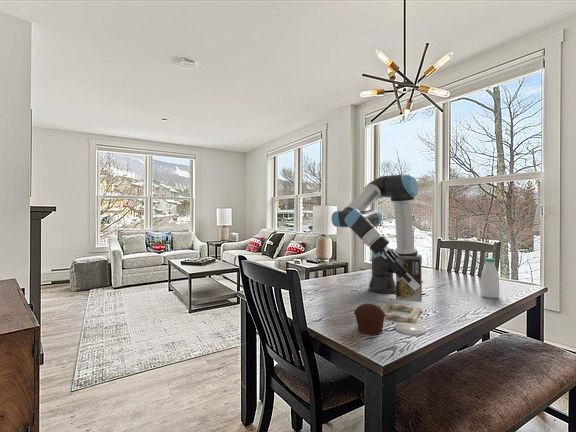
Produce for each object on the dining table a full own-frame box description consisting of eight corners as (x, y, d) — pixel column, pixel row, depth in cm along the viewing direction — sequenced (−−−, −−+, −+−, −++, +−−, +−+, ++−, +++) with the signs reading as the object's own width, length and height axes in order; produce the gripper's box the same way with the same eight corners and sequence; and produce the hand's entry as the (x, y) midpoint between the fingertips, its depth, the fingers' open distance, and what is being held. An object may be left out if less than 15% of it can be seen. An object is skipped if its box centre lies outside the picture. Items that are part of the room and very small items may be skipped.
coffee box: (422, 298, 121) (422, 256, 121) (421, 302, 115) (421, 259, 115) (397, 295, 125) (397, 255, 125) (395, 299, 119) (395, 257, 119)
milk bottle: (501, 299, 158) (501, 259, 158) (484, 298, 160) (484, 259, 159) (494, 294, 166) (494, 257, 165) (478, 294, 167) (478, 257, 167)
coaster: (391, 331, 119) (391, 329, 119) (398, 322, 128) (398, 320, 128) (423, 337, 113) (423, 335, 113) (427, 327, 122) (427, 325, 122)
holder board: (376, 317, 134) (375, 312, 134) (385, 307, 148) (385, 302, 148) (415, 323, 126) (415, 318, 126) (421, 312, 140) (421, 307, 140)
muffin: (390, 330, 120) (390, 304, 120) (377, 339, 112) (377, 311, 111) (362, 323, 128) (362, 298, 127) (348, 331, 119) (348, 305, 119)
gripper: (375, 245, 136) (415, 286, 128) (361, 250, 119) (406, 298, 111) (388, 233, 133) (430, 275, 125) (375, 236, 116) (422, 285, 108)
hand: (418, 286), depth 118 cm, fingers closed on coffee box, 7 cm apart
